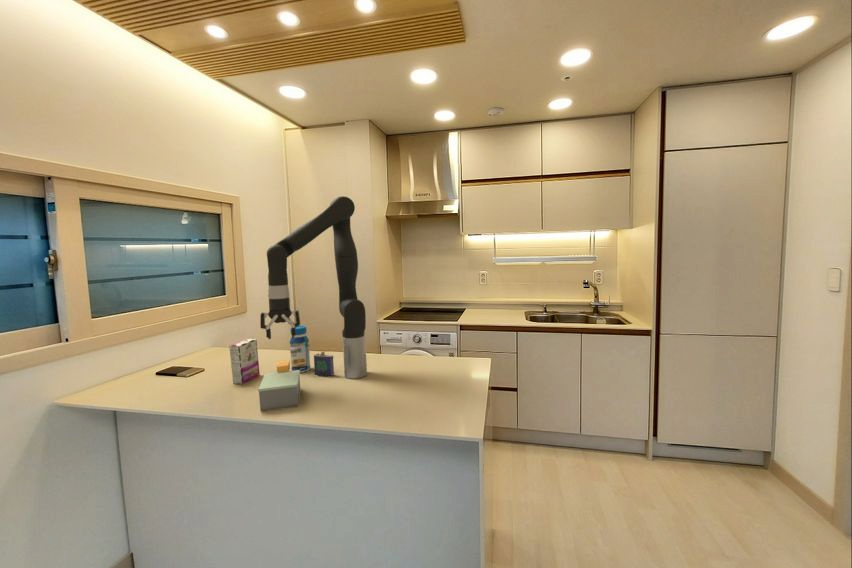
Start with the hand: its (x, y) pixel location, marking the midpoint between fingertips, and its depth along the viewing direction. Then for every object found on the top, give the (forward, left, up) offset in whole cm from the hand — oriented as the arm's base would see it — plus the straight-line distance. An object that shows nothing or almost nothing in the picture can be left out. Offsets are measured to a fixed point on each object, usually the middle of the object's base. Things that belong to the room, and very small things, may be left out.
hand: (281, 337), depth 141 cm
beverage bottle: (-5, -20, -20) cm, 29 cm away
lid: (0, +9, -14) cm, 17 cm away
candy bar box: (+17, -17, -21) cm, 31 cm away
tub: (0, +13, -20) cm, 24 cm away
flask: (-15, -9, -21) cm, 27 cm away
